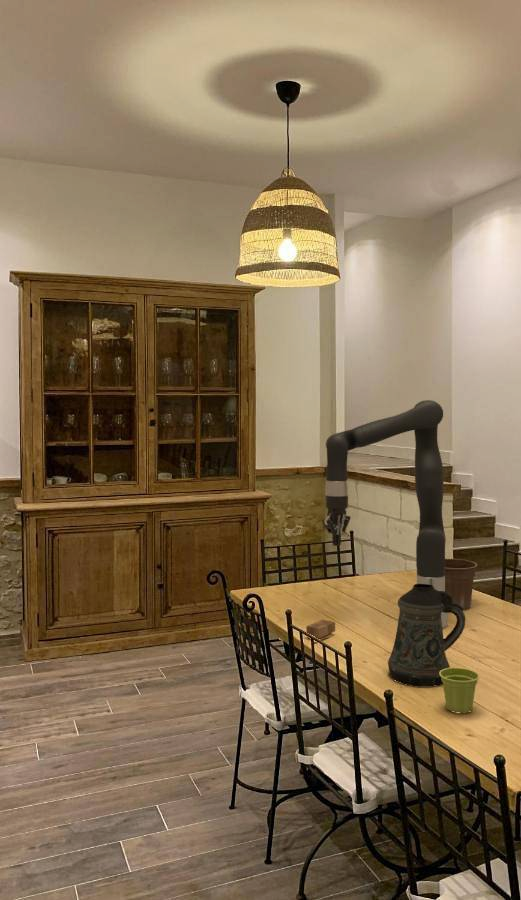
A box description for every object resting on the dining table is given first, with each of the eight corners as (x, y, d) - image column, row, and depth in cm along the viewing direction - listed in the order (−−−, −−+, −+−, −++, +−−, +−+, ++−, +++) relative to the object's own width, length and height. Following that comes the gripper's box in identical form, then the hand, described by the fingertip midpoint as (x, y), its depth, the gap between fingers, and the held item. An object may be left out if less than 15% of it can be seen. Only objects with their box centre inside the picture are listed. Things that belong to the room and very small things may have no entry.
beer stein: (376, 670, 205) (376, 581, 203) (435, 661, 212) (435, 575, 210) (409, 691, 189) (410, 595, 188) (471, 680, 196) (472, 588, 195)
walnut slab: (335, 621, 237) (319, 628, 230) (335, 631, 237) (319, 638, 230) (322, 619, 240) (306, 626, 233) (322, 628, 240) (306, 635, 233)
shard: (314, 646, 228) (314, 640, 228) (294, 641, 233) (294, 635, 232) (334, 638, 236) (334, 632, 236) (315, 633, 241) (315, 628, 241)
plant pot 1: (475, 614, 260) (476, 569, 259) (428, 610, 265) (429, 566, 264) (477, 602, 275) (478, 560, 274) (433, 599, 280) (433, 557, 279)
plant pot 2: (436, 714, 175) (436, 678, 175) (441, 699, 184) (441, 665, 184) (477, 719, 172) (477, 683, 172) (480, 704, 181) (480, 669, 180)
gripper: (333, 496, 238) (333, 549, 239) (357, 493, 248) (357, 544, 249) (315, 494, 243) (315, 546, 244) (339, 491, 253) (339, 541, 254)
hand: (336, 545), depth 246 cm, fingers closed
